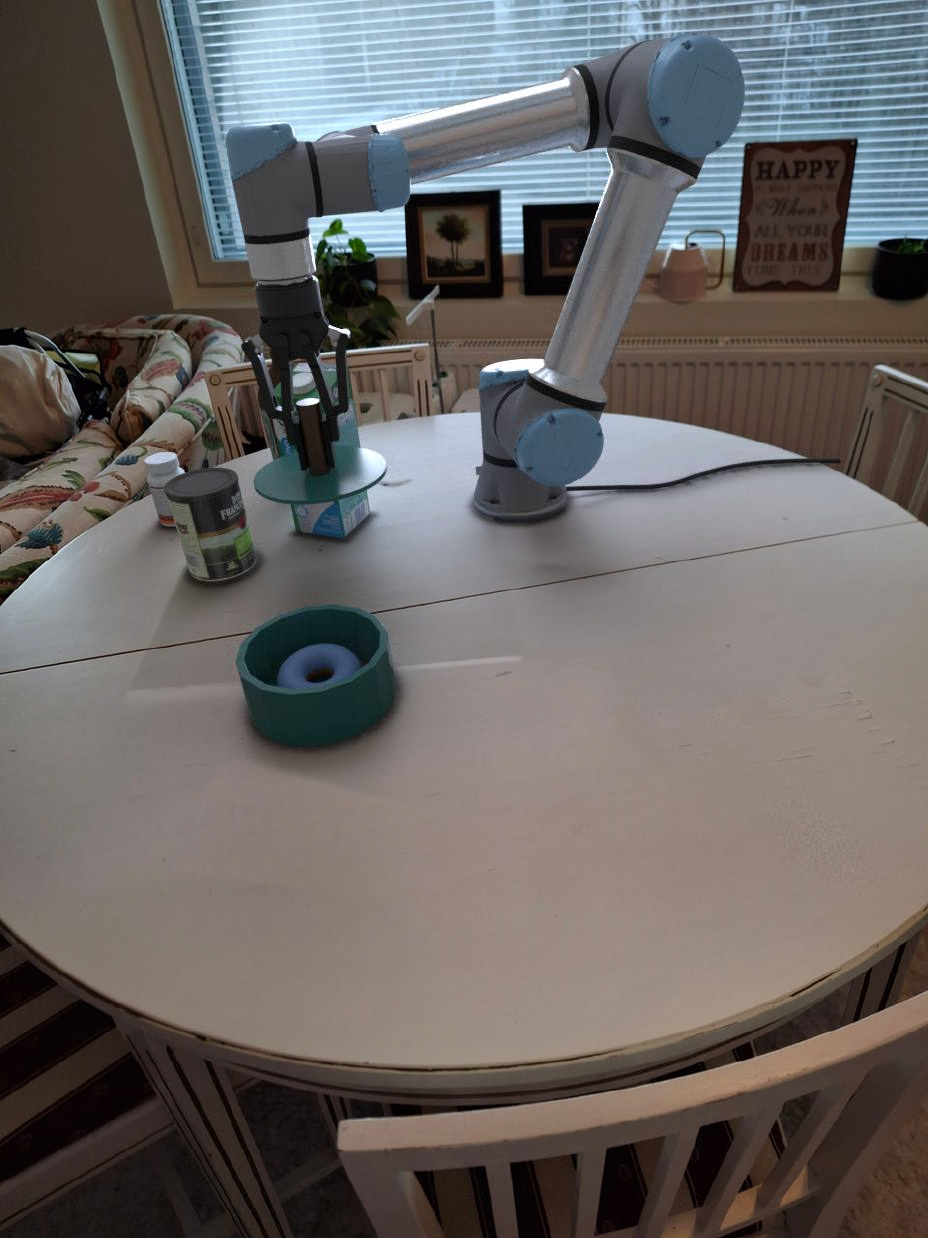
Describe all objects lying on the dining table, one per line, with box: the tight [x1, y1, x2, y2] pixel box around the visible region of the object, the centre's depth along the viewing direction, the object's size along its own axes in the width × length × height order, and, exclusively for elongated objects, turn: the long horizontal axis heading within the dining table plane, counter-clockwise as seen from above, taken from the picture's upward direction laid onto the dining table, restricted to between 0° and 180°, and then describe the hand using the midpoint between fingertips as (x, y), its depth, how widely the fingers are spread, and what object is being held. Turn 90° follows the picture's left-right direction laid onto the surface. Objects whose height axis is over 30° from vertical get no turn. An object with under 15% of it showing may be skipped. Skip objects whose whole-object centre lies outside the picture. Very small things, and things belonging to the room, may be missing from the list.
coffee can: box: [164, 467, 257, 582], centre depth 118 cm, size 10×10×14 cm
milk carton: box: [273, 362, 371, 538], centre depth 124 cm, size 9×9×25 cm
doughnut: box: [276, 644, 363, 689], centre depth 92 cm, size 10×10×5 cm
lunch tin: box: [235, 603, 396, 748], centre depth 92 cm, size 17×17×8 cm
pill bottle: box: [143, 451, 186, 528], centre depth 134 cm, size 6×6×11 cm
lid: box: [252, 398, 388, 505], centre depth 105 cm, size 18×18×11 cm
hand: (319, 465), depth 107 cm, fingers closed on lid, 3 cm apart
